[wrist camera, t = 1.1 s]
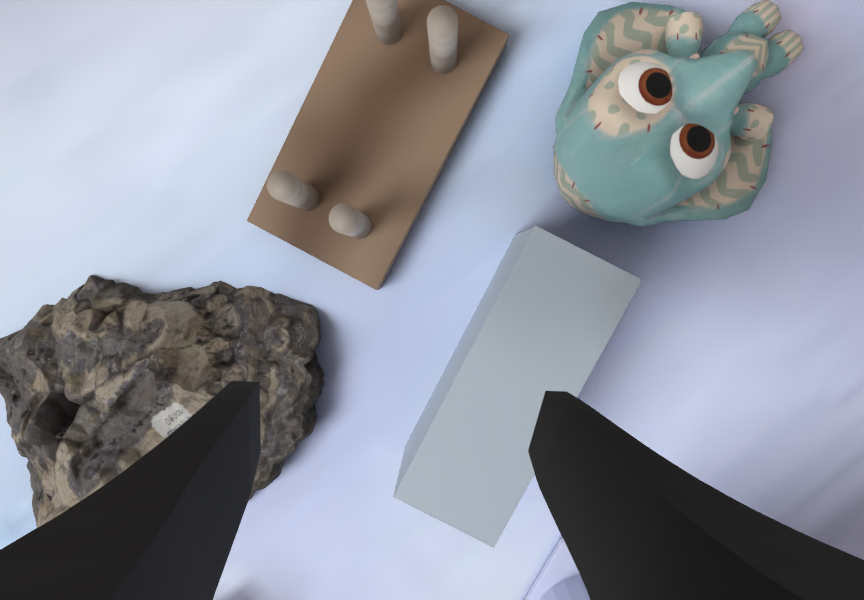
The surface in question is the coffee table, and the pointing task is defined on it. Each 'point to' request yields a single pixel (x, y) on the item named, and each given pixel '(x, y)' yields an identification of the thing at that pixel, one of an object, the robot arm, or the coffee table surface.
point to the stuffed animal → (668, 115)
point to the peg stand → (377, 131)
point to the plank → (510, 380)
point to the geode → (150, 378)
